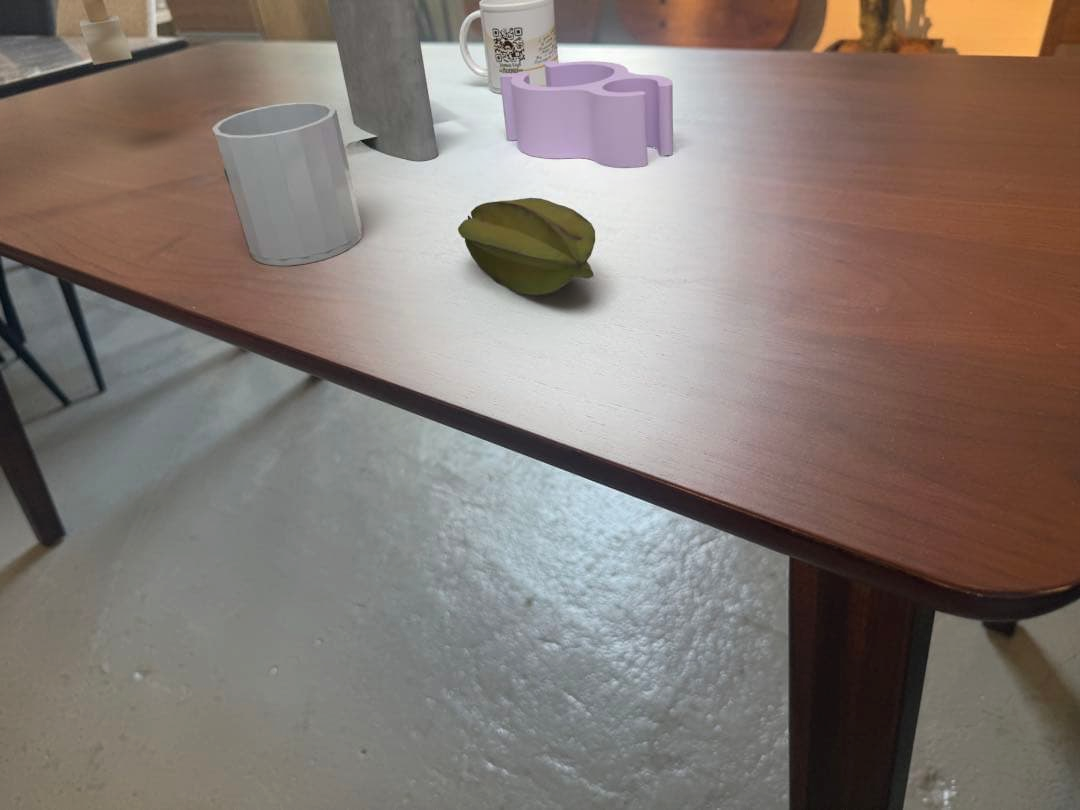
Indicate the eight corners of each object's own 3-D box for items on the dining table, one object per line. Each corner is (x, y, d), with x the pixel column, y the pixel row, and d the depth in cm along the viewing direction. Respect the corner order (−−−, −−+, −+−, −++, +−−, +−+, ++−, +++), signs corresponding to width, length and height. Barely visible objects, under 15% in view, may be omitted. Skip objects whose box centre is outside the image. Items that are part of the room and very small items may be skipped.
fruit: (610, 250, 70) (606, 170, 66) (594, 321, 60) (588, 232, 56) (474, 253, 72) (463, 176, 68) (436, 322, 62) (421, 236, 58)
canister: (260, 276, 72) (221, 145, 66) (242, 238, 80) (205, 118, 74) (375, 246, 75) (348, 118, 69) (347, 212, 83) (320, 95, 77)
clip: (698, 143, 90) (699, 75, 86) (615, 177, 84) (611, 105, 80) (569, 116, 103) (565, 56, 100) (488, 144, 97) (480, 80, 93)
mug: (513, 99, 113) (504, 8, 107) (462, 87, 121) (450, 2, 115) (574, 81, 118) (568, -7, 112) (521, 71, 126) (512, -12, 120)
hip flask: (443, 155, 95) (411, -47, 84) (412, 165, 93) (375, -41, 82) (375, 130, 106) (339, -51, 95) (345, 139, 104) (305, -45, 93)
